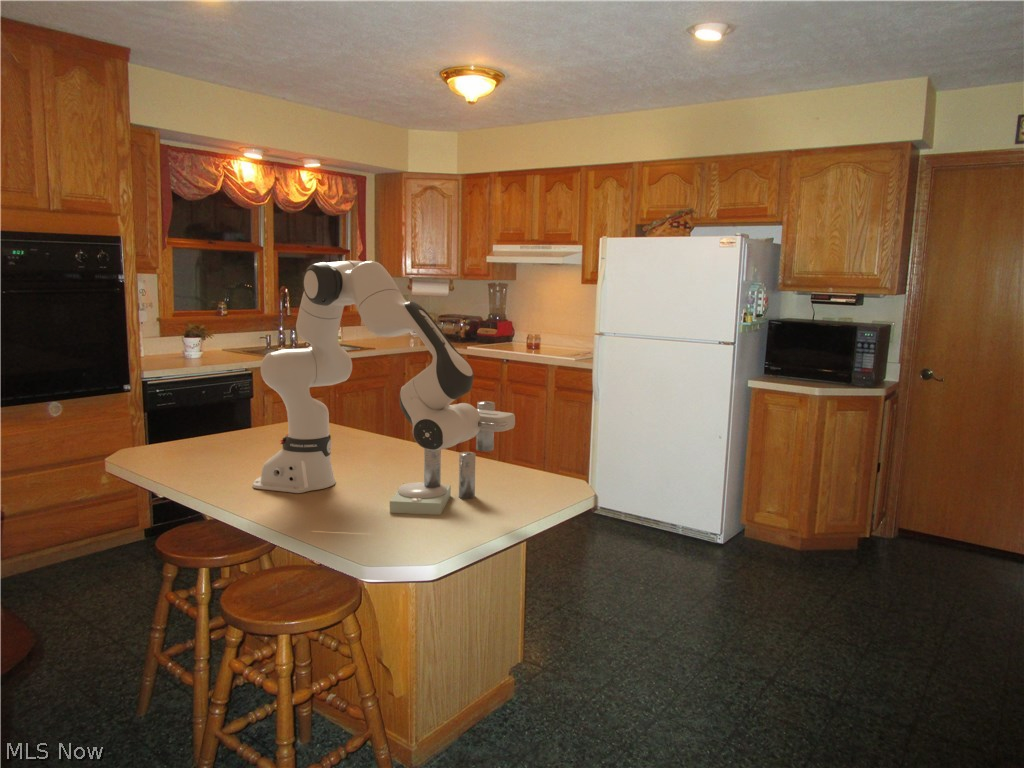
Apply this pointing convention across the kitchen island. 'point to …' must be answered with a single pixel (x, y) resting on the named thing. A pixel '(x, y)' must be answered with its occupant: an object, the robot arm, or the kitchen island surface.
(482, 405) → the cylinder
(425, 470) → the cylinder
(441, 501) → the scale
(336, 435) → the kitchen island surface
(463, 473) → the cylinder
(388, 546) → the kitchen island surface
